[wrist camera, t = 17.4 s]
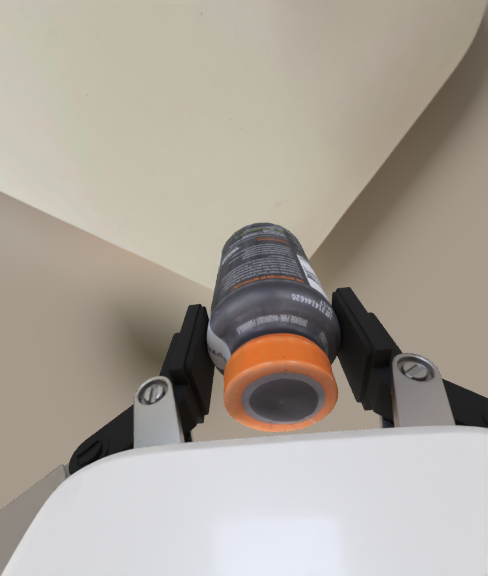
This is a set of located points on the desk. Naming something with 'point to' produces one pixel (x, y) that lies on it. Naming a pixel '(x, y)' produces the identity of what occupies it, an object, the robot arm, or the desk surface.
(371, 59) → the desk surface
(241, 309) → the pill bottle
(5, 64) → the desk surface
